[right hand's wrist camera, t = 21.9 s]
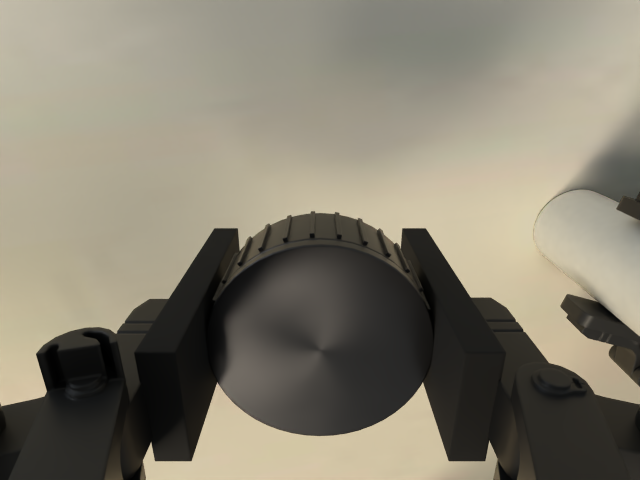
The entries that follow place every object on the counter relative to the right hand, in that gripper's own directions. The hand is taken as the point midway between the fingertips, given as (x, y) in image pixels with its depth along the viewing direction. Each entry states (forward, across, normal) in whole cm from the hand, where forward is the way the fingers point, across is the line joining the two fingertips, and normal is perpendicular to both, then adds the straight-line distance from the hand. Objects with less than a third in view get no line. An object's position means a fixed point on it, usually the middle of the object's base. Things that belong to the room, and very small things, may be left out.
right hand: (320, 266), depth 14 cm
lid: (-4, 0, 0) cm, 4 cm away
